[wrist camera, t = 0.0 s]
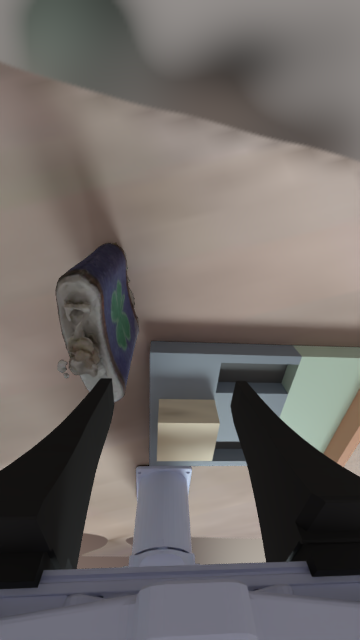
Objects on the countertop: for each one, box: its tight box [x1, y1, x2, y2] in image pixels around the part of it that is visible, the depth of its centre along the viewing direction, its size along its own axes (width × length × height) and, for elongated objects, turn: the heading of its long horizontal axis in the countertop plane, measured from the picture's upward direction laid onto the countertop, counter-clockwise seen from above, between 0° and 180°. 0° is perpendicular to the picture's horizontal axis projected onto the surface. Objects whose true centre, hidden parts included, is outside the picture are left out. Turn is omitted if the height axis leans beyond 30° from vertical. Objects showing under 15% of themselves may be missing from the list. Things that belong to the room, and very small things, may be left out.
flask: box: [56, 243, 139, 402], centre depth 17 cm, size 9×3×11 cm, turn 4°
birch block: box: [157, 399, 220, 461], centre depth 25 cm, size 6×6×3 cm
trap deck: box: [149, 341, 360, 467], centre depth 27 cm, size 18×24×4 cm
